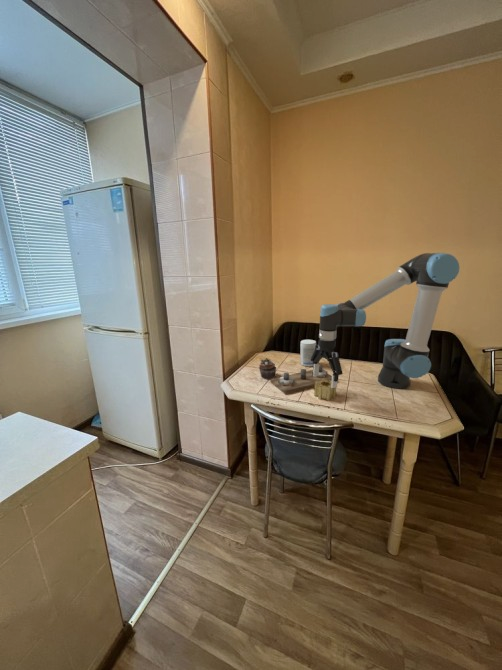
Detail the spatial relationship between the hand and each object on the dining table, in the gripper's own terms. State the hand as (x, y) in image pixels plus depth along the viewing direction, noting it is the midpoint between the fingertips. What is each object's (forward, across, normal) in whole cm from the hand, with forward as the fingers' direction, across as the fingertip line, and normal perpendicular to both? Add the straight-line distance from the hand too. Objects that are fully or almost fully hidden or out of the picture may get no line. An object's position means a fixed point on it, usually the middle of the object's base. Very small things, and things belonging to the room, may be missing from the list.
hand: (324, 381), depth 133 cm
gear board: (+7, -17, 0) cm, 18 cm away
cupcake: (+8, -33, -14) cm, 36 cm away
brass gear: (+7, 0, 0) cm, 7 cm away
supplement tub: (+8, -37, +16) cm, 41 cm away
